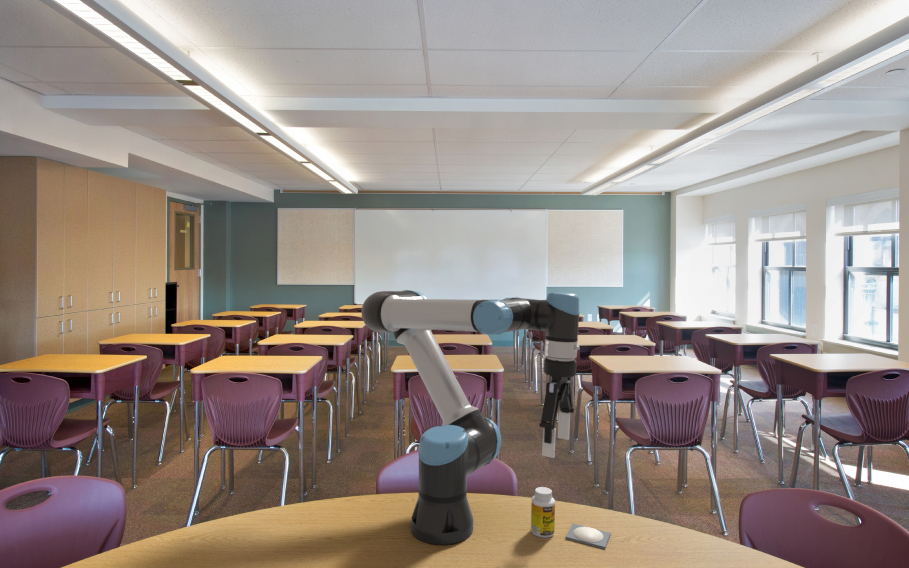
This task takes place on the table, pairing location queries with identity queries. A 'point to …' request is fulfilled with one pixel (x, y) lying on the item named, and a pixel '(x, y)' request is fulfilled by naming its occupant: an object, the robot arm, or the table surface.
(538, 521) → the supplement bottle
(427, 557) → the table surface
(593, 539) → the seat plate
